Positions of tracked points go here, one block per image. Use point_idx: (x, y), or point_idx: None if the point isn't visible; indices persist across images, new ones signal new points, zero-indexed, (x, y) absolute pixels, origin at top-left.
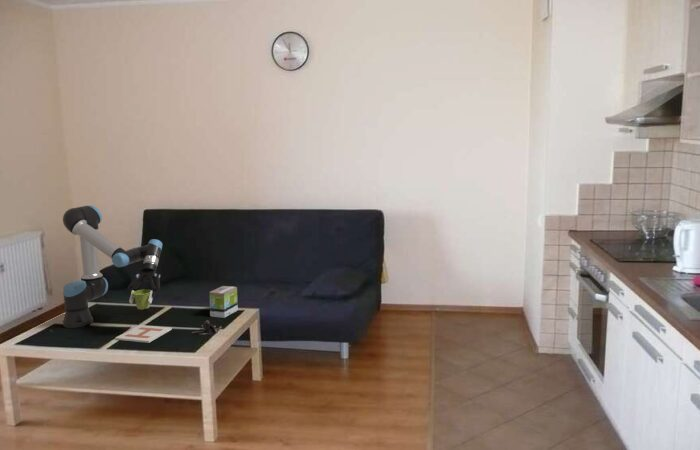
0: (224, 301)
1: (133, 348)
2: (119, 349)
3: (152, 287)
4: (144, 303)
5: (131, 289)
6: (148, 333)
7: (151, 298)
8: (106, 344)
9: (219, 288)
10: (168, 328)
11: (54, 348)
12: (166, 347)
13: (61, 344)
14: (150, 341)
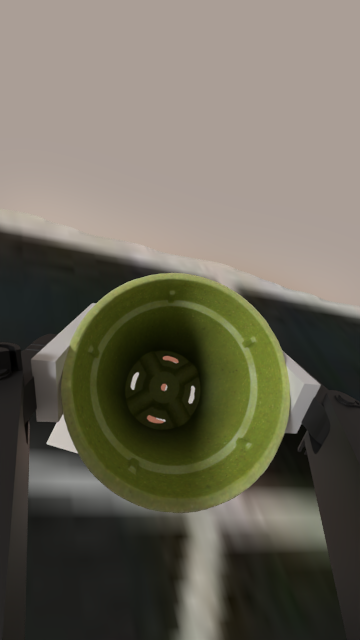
0: None
1: (150, 273)
2: (185, 273)
3: (7, 401)
4: (143, 338)
5: (340, 394)
6: (135, 374)
7: None
8: None
9: None
10: (60, 433)
11: (340, 304)
12: (54, 264)
13: (345, 327)
14: None
